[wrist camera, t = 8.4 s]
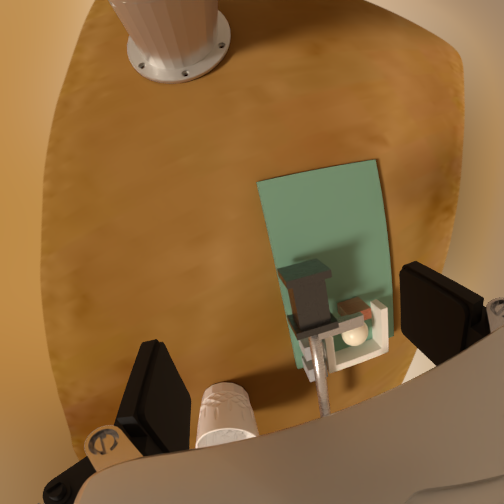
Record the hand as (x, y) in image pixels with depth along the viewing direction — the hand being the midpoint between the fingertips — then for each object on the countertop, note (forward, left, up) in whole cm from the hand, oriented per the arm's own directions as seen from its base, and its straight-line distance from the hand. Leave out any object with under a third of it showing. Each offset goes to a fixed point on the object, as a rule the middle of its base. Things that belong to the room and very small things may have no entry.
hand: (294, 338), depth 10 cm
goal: (+16, +11, -25) cm, 31 cm away
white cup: (+23, -8, -25) cm, 35 cm away
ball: (+15, +11, -22) cm, 29 cm away
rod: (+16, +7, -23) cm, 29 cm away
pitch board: (+7, +10, -25) cm, 28 cm away
